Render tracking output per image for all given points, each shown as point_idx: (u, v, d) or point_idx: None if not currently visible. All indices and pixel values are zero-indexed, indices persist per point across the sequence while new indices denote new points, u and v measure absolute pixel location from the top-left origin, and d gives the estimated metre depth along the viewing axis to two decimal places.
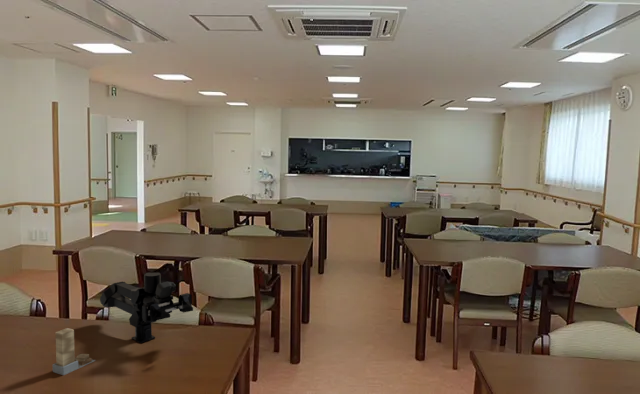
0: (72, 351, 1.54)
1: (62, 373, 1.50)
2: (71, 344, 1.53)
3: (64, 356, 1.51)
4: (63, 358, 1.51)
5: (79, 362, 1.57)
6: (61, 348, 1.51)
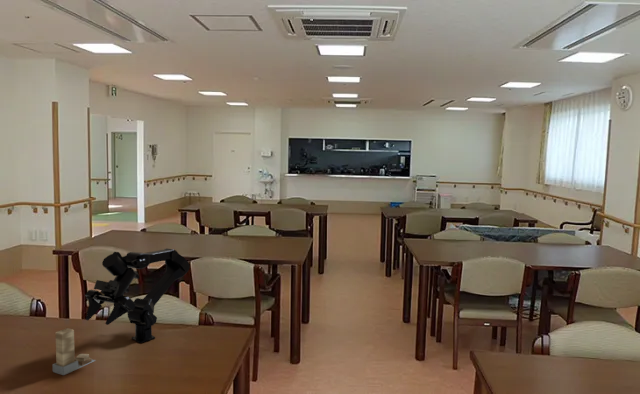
0: (72, 351, 1.54)
1: (62, 373, 1.50)
2: (71, 344, 1.53)
3: (64, 356, 1.51)
4: (63, 358, 1.51)
5: (79, 362, 1.57)
6: (61, 348, 1.51)
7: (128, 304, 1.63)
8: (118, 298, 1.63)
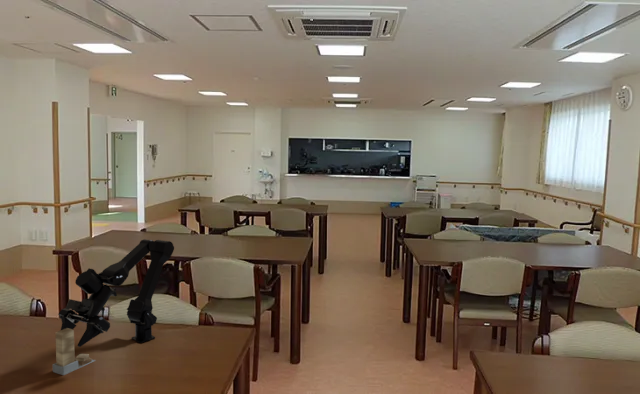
0: (72, 351, 1.54)
1: (62, 373, 1.50)
2: (71, 344, 1.53)
3: (64, 356, 1.51)
4: (63, 358, 1.51)
5: (79, 362, 1.57)
6: (61, 348, 1.51)
7: (102, 325, 1.54)
8: (91, 318, 1.54)
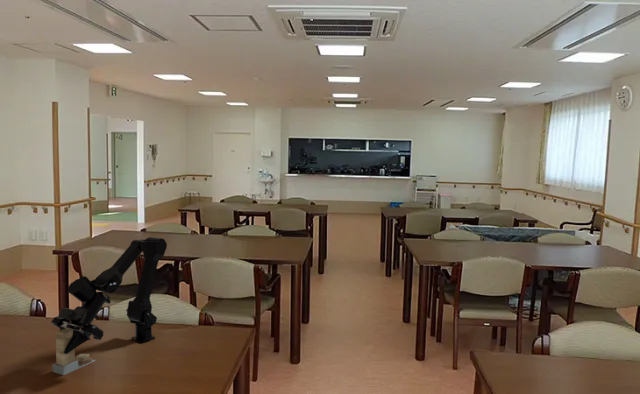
0: (72, 351, 1.54)
1: (62, 373, 1.50)
2: None
3: (64, 356, 1.51)
4: (63, 358, 1.51)
5: (79, 362, 1.57)
6: (61, 348, 1.51)
7: (95, 333, 1.52)
8: (84, 327, 1.52)
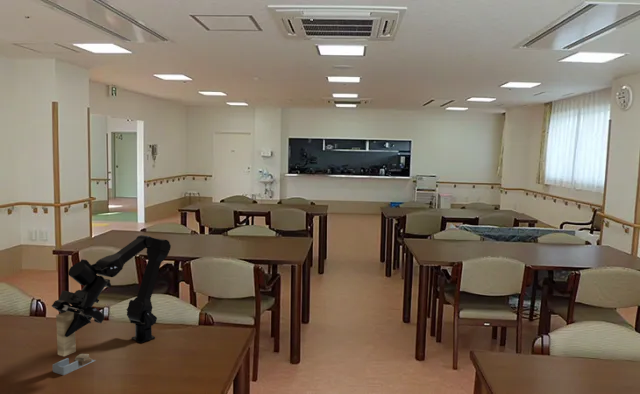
0: (73, 334, 1.54)
1: (62, 373, 1.50)
2: None
3: (65, 339, 1.51)
4: (64, 341, 1.51)
5: (79, 362, 1.57)
6: (62, 331, 1.50)
7: (95, 316, 1.52)
8: (85, 310, 1.52)
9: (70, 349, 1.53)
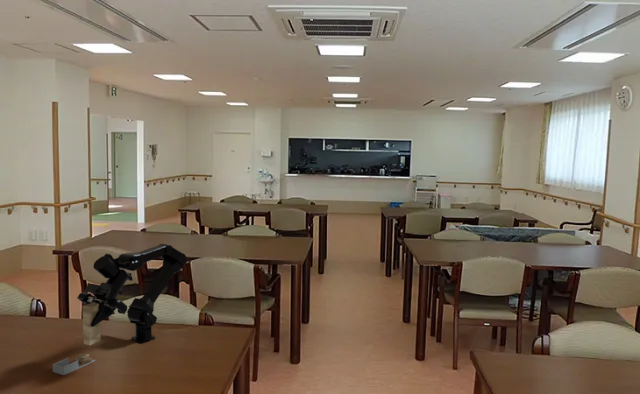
0: (98, 324, 1.62)
1: (62, 373, 1.50)
2: None
3: (91, 328, 1.60)
4: (90, 331, 1.60)
5: (79, 362, 1.57)
6: (88, 321, 1.59)
7: (120, 307, 1.60)
8: (109, 301, 1.60)
9: (96, 338, 1.62)
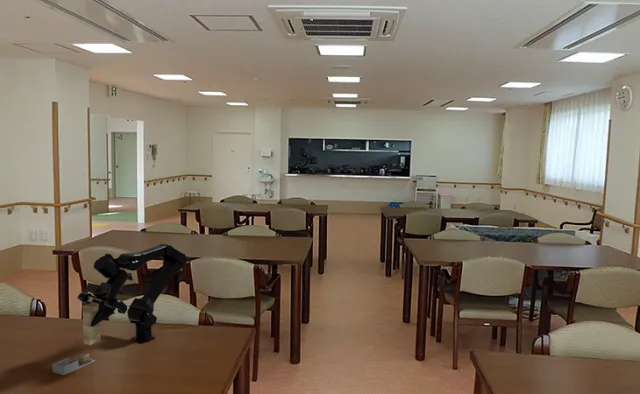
0: (98, 324, 1.62)
1: (62, 373, 1.50)
2: None
3: (91, 328, 1.60)
4: (90, 330, 1.60)
5: (79, 362, 1.57)
6: (88, 321, 1.59)
7: (120, 307, 1.60)
8: (109, 301, 1.60)
9: (96, 338, 1.62)
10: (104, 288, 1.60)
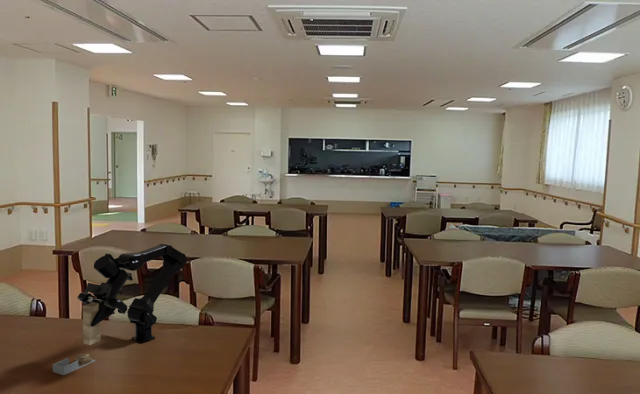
0: (98, 324, 1.62)
1: (62, 373, 1.50)
2: None
3: (91, 328, 1.60)
4: (90, 330, 1.60)
5: (79, 362, 1.57)
6: (88, 321, 1.59)
7: (120, 307, 1.60)
8: (109, 301, 1.60)
9: (96, 338, 1.62)
10: (104, 288, 1.60)
